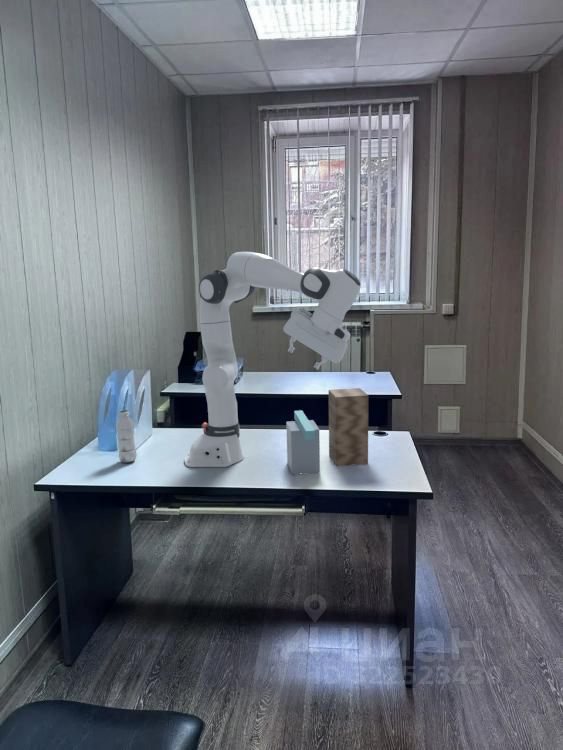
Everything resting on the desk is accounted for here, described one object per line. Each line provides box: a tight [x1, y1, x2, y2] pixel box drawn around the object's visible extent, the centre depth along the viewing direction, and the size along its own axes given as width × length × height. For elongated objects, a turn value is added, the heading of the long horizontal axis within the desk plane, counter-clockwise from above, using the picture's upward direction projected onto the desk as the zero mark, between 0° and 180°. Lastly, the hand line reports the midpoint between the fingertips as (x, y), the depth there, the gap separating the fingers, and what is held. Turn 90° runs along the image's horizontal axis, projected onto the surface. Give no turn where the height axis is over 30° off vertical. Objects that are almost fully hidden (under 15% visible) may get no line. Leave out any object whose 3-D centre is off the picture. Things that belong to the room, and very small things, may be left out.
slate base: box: [285, 419, 321, 475], centre depth 196 cm, size 10×12×16 cm
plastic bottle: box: [115, 409, 138, 464], centre depth 207 cm, size 6×7×20 cm
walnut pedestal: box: [328, 387, 369, 467], centre depth 202 cm, size 12×12×26 cm
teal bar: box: [293, 409, 315, 440], centre depth 191 cm, size 3×26×3 cm, turn 7°
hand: (302, 360), depth 168 cm, fingers open, 8 cm apart
